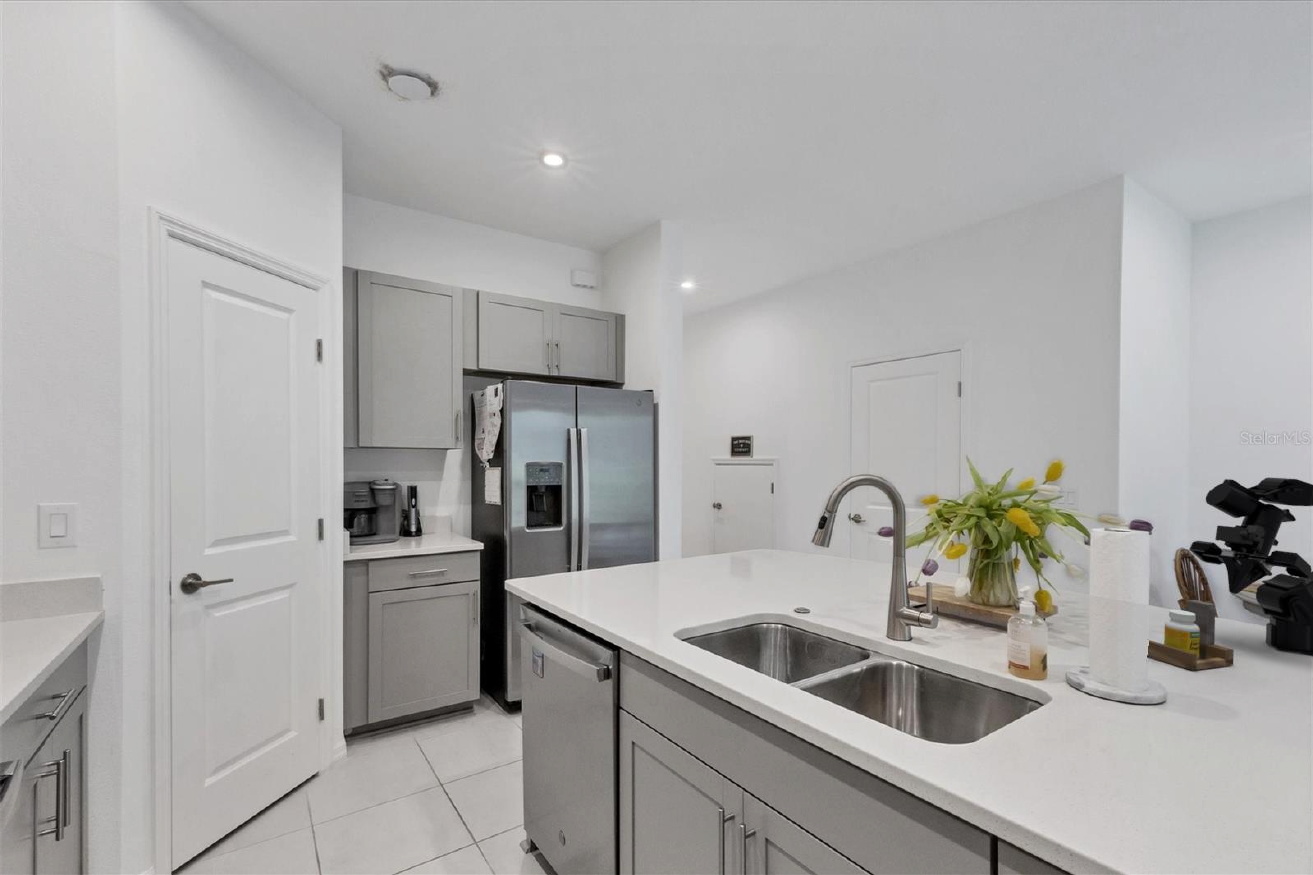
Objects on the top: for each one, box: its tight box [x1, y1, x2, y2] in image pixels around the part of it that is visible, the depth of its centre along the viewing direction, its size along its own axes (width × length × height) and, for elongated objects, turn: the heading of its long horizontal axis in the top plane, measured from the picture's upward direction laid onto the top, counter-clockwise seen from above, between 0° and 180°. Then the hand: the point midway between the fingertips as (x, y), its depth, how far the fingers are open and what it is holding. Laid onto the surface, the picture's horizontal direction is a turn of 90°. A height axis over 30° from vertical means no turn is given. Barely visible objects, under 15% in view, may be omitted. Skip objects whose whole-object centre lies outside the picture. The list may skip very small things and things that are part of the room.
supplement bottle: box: [1163, 609, 1200, 660], centre depth 123 cm, size 5×5×10 cm
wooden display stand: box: [1147, 599, 1235, 671], centre depth 123 cm, size 12×10×11 cm
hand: (1232, 592), depth 129 cm, fingers closed
